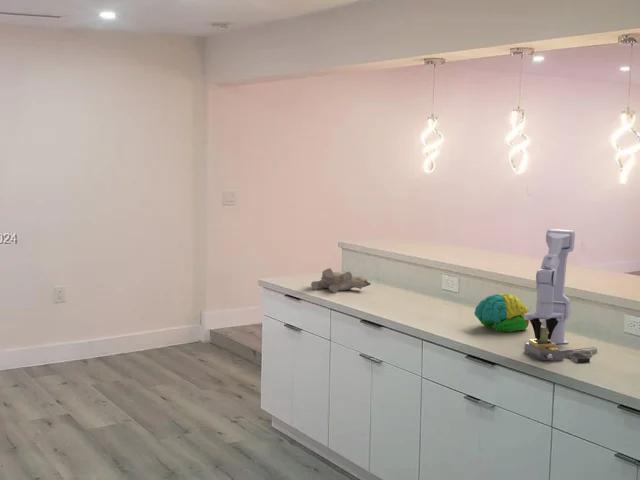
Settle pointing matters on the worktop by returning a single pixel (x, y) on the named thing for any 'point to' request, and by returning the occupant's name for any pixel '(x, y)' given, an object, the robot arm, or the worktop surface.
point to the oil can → (543, 335)
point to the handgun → (580, 354)
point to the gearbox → (544, 350)
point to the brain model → (502, 313)
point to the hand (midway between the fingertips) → (542, 338)
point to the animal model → (339, 281)
